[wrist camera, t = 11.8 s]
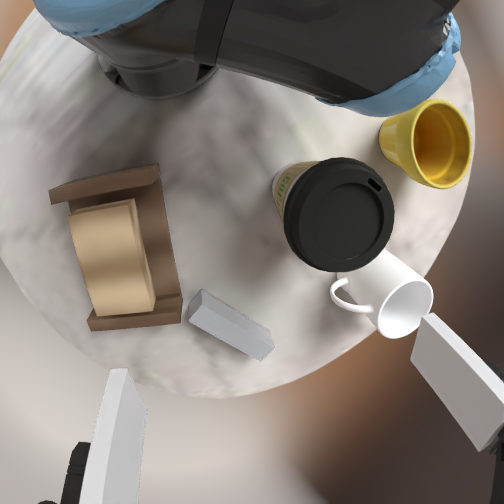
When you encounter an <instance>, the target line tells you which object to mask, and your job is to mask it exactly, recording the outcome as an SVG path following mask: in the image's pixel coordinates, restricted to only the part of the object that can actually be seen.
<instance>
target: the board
mask: <svg viewBox="0 0 504 504" xmlns="http://www.w3.org/2000/svg"><path fill="white" fill-rule="evenodd" d="M67 219H68V223H69V227H70V231H71V235H72V239H73V243H74V246H75V250H76V254H77V257H78V261H79V264H80V267H81V271H82V274H83V277H84V280H85V283H86V286H87V289H88V292H89V295H90V298H91V301H92V304H93V307H94V310H95V312H96V315H97V316H108V315H119V314H129V313H139V312H149V311H153V308H154V304H155V300H156V295H155V291H154V287H153V283H152V279H151V275H150V271H149V267H148V263H147V258H146V254H145V249H144V245H143V240H142V235H141V230H140V225H139V220H138V215H137V210H136V204H135V199H129V200H123V201H118V202H112V203H107V204H102V205H97V206H92V207H87V208H82V209H77V210H76V211H74V212H73V213H72V214H70V215H69V216H67Z"/></svg>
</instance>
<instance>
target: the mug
mask: <svg viewBox="0 0 504 504" xmlns="http://www.w3.org/2000/svg"><path fill="white" fill-rule="evenodd" d="M337 280H338V281H336V282H335V283H333V285H332V286H331V288H330V296H331V299H332V300H333V301H334V303H336V304H337V305H338V306H340V307H341V308H343V309H346V310H349V311H352V312H357V313H365V314H366V315H367V317H368V318H369V319H370V320H371V322H372V323H373V324H374V325H375V327H376V328H377V329H378V330H379V332H380V333H381V334H382V335H383V336H385V337H387V338H393V339H394V338H400V337H403V336H406V335H407V334H409V333H411V332H413V331H414V330H415V329H416V328H417V327H418V326H419V325H420V321H421V317H422V316H424V315H428V313H429V311H430V309H431V306H432V302H433V291H432V288H431V286H430V284H429V283H428V282H427V281H426V280H425V279H423V278H422V277H421V276H420V275H418V274H417V273H416V272H414V271H413V270H412V269H411V268H409V267H408V266H407V265H405V264H404V263H403V262H401V261H400V260H399V259H397V258H396V257H395V256H393V255H392V254H391V253H389V252H388V251H387V250H386V249H385V248H384V249H383V250H382V251H381V253H380V254H379V255H378V256H377V257H376V258H375V259H374V260H373V261H371V262H370V263H369V264H367V265H365V266H364V267H362V268H359V269H357V270H354V271H350V272H337ZM340 286H341V288H342V289H343V290H344V291H346V292H347V293H349V295H350V296H351V297H352V298H353V299H354V301H355V302H356V303H357V304H358V305H353V304H349V303H346V302H344V301H342V300H340V299H339V298H337V297H336V295H335V294H334V291H335V290H336V289H337V288H338V287H340Z"/></svg>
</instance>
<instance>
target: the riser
mask: <svg viewBox="0 0 504 504" xmlns="http://www.w3.org/2000/svg"><path fill="white" fill-rule="evenodd" d="M188 321H189V322H191V323H192V324H194V325H196V326H197V327H199V328H201V329H203V330H204V331H206V332H208V333H209V334H211V335H213V336H215V337H217V338H218V339H220V340H222V341H224V342H225V343H227V344H229V345H231V346H233V347H235V348H236V349H238V350H240V351H242V352H244V353H246V354H248V355H249V356H251V357H253V358H255V359H257V360H259V361H262V360H263V359H264V358H265V357H266V356H267V355H268V354H269V353H270V352H271V351H272V350H273V349H274V348H275V346H274V343H273V340H272V337H271V334H270V331H269V330H268V329H266V328H264V327H263V326H261V325H259V324H258V323H256V322H254V321H253V320H251V319H249V318H248V317H246V316H245V315H243V314H241V313H240V312H238V311H236V310H235V309H233V308H232V307H230V306H228V305H227V304H225V303H224V302H222V301H221V300H219V299H217V298H216V297H214V296H213V295H211V294H210V293H208V292H206V291H205V290H203V289H201V290H200V292H199V293H198V294H197V295H196V296H195V298H194V299H193V300H192V301H191V303H190V304H189V312H188Z"/></svg>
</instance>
